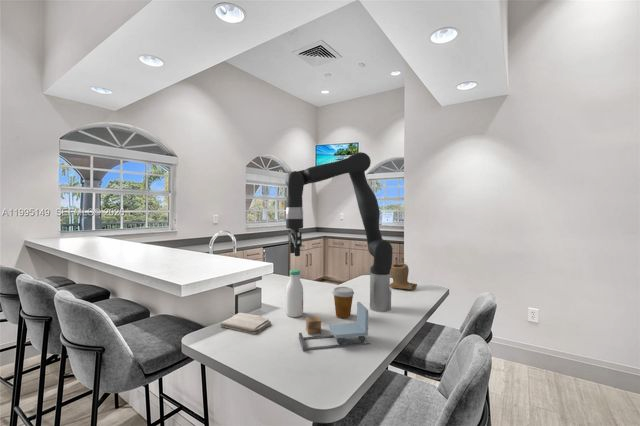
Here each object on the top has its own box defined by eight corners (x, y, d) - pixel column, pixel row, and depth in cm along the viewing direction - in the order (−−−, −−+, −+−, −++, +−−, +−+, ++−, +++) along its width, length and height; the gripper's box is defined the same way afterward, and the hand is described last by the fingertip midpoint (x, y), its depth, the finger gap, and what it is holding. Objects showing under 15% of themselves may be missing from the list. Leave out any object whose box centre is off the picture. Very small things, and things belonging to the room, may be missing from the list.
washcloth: (256, 336, 114) (256, 328, 114) (218, 328, 120) (218, 320, 120) (272, 324, 125) (272, 317, 125) (237, 318, 131) (237, 311, 131)
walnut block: (318, 328, 120) (318, 316, 120) (320, 333, 115) (321, 320, 115) (306, 329, 119) (306, 317, 119) (308, 334, 114) (308, 321, 114)
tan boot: (386, 289, 176) (387, 264, 175) (392, 284, 186) (392, 260, 186) (413, 293, 169) (413, 267, 168) (417, 288, 179) (417, 263, 179)
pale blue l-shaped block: (359, 331, 115) (359, 301, 115) (367, 342, 107) (368, 310, 106) (329, 334, 113) (329, 303, 113) (335, 345, 104) (335, 312, 104)
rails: (361, 332, 116) (361, 327, 116) (370, 344, 106) (371, 339, 106) (298, 338, 111) (298, 332, 111) (302, 351, 101) (302, 345, 101)
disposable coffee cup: (356, 314, 136) (356, 288, 135) (349, 321, 127) (350, 293, 127) (337, 310, 140) (337, 285, 139) (329, 317, 131) (329, 290, 131)
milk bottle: (300, 318, 130) (300, 272, 130) (283, 316, 132) (283, 271, 131) (304, 312, 138) (305, 269, 137) (288, 310, 139) (289, 268, 139)
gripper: (307, 218, 125) (307, 256, 125) (298, 216, 138) (299, 251, 139) (289, 218, 122) (290, 257, 123) (282, 217, 136) (283, 252, 136)
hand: (294, 254), depth 131 cm, fingers open, 8 cm apart
